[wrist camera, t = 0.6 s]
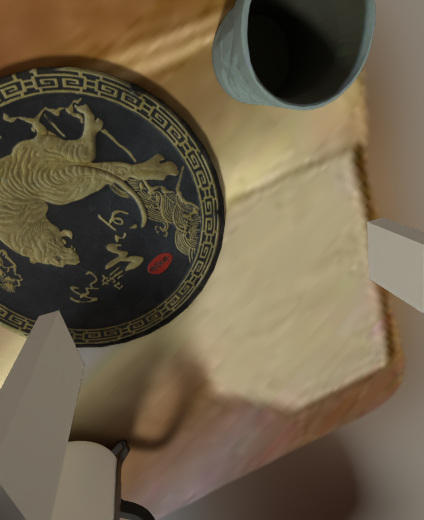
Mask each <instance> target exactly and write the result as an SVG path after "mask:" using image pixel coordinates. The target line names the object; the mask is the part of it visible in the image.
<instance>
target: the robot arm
mask: <svg viewBox="0 0 424 520" xmlns="http://www.w3.org/2000/svg"><path fill="white" fill-rule="evenodd" d="M367 227H368V266H369V279H371V280H372V281H374V282H375V283H377V284H379V285H380V286H382V287H383V288H385V289H386V290H388V291H389V292H391V293H393V294H394V295H396V296H397V297H399V298H400V299H402V300H403V301H405V302H407V303H408V304H410V305H411V306H413V307H414V308H416V309H417V310H419V311H421V312H422V313H424V232H422V231H420V230H417V229H414V228H411V227H409V226H406V225H402V224H400V223H397V222H395V221H392V220H389V219H386V218H380V219H376V220H373V221H369V222H367ZM84 366H85V365H84V363H83V361H82V359H81V356H80V354H79V352H78V350H77V348H76V346H75V344H74V341H73V339H72V337H71V335H70V333H69V331H68V329H67V326H66V324H65V322H64V320H63V318H62V316H61V314H60V311H55V312H52V313H48V314H45V315H41V316H39V317H38V319H37V321H36V323H35V324H34V326H33V328H32V330H31V332H30V334H29V336H28V338H27V340H26V342H25V344H24V345H23V347H22V349H21V351H20V353H19V355H18V357H17V359H16V361H15V363H14V365H13V367H12V368H11V370H10V372H9V374H8V376H7V378H6V380H5V382H4V384H3V386H2V388H1V389H0V520H51V516H52V512H53V507H54V503H55V498H56V494H57V489H58V485H59V480H60V476H61V471H62V466H63V462H64V457H65V453H66V448H67V444H68V439H69V435H70V430H71V425H72V421H73V416H74V412H75V407H76V403H77V398H78V394H79V389H80V385H81V380H82V375H83V371H84Z"/></svg>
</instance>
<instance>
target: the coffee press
mask: <svg viewBox="0 0 424 520" xmlns="http://www.w3.org/2000/svg"><path fill="white" fill-rule="evenodd" d="M122 448H124V449H123V450H122V452H121V453H120V455H119V457H118V460H117V458H116V457H115V456H116V455H117V454H118V453H119V452H120V450H121V449H122ZM129 451H130V447H129V445H128V443H127V441H126V440H121V441H120V442H118V444H117V445H116V446H115V447H114V448H113V449H112V450H109V449H107V448H106V447H104V446H102V445H100V444H97V443H94V442H89V441H72V442H68V444H67V448H66V453H65V457H64V462H63V466H62V471H61V476H60V480H59V485H58V489H57V494H56V498H55V503H54V507H53V512H52V516H51V520H120V518H125V519H130V520H155V519H154V517H153V516H152V514H151V513H150V512H149V511H148V510H147V509H146V508H144V507H143V506H141V505H138V504H136V503H133V502H129V501H124V500H122V499H121V467H122V463H123V461H124V459H125V458H126V456H127V455H128V453H129Z"/></svg>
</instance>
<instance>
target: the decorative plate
mask: <svg viewBox="0 0 424 520" xmlns="http://www.w3.org/2000/svg"><path fill="white" fill-rule="evenodd" d="M224 226H225V219H224V202H223V195H222V191H221V188H220V184H219V180H218V176H217V172H216V170H215V168H214V166H213V164H212V162H211V160H210V157H209V155H208V153H207V151H206V149H205V147H204V145H203V144H202V143H201V141H200V140H199V139H198V137H197V136H196V135H195V133H194V132H193V131H192V129H191V128H190V126H189V125H188V124H187V122H185V121H184V120H183V119H182V118H181V117H180V116H179V115H178V114H177V113H176V112H175V111H174V110H172V109H171V108H170V107H169V106H168V105H167V104H166V103H165V102H164V101H162V100H161V99H159V98H157V97H156V96H154V95H153V94H151V93H149V92H148V91H146V90H144V89H143V88H141V87H140V86H138V85H136V84H134V83H132V82H129V81H126V80H124V79H121V78H118V77H116V76H113V75H110V74H108V73H105V72H100V71H94V70H88V69H82V68H76V67H48V68H33V69H30V70H26V71H22V72H19V73H15V74H11V75H8V76H4V77H1V78H0V326H2V327H4V328H6V329H8V330H10V331H12V332H14V333H17V334H19V335H21V336H23V337H26V338H28V336H29V334H30V332H31V330H32V328H33V326H34V324H35V323H36V321H37V319H38V317H39V316H41V315H45V314H48V313H52V312H55V311H60V314H61V316H62V318H63V320H64V322H65V324H66V326H67V329H68V331H69V333H70V335H71V337H72V339H73V341H74V344H75V346H76V348H84V347H104V346H110V345H115V344H120V343H126V342H129V341H131V340H134V339H137V338H140V337H142V336H145V335H148V334H150V333H152V332H154V331H155V330H157V329H159V328H161V327H162V326H164V325H166V324H168V323H169V322H171V321H172V320H173V319H174V318H176V317H177V316H178V315H179V314H180V313H182V312H183V311H184V310H185V309H187V308H188V306H189V305H190V304H191V303H192V302H193V301H194V299H195V298H196V297H197V296H198V295H199V294H200V292H201V291H202V290H203V288H204V286H205V285H206V283H207V281H208V279H209V278H210V276H211V274H212V272H213V271H214V268H215V265H216V262H217V259H218V257H219V254H220V251H221V248H222V241H223V233H224Z"/></svg>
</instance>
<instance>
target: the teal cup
mask: <svg viewBox="0 0 424 520" xmlns="http://www.w3.org/2000/svg"><path fill="white" fill-rule="evenodd" d="M374 28H375V0H236V2H235V5H234V8H232V9H231V10H230V11H229V12H228V14H227V15H226V17H225V18H224V20H223V21H222V23H221V25H220V26H219V28H218V30H217V32H216V35H215V38H214V42H213V47H212V62H213V67H214V72H215V75H216V77H217V80H218V82H219V83H220V85H221V86H222V88H223V89H224V90H225V91H226V93H227V94H228V95H230V96H231V97H232V98H234V99H236V100H238V101H240V102H243V103H248V104H256V105H267V106H275V107H281V108H287V109H293V110H313V109H316V108H319V107H323V106H325V105H327V104H329V103H330V102H332V101H334V100H335V99H337V98H338V97H339V96H340V95H341V94H343V93H344V92H345V91H346V90H347V89H348V88H349V87H350V86H351V84H352V83H353V82H354V80H355V79H356V78H357V77H358V75H359V74H360V72H361V70H362V68H363V66H364V64H365V62H366V60H367V57H368V54H369V51H370V49H371V44H372V39H373V33H374Z"/></svg>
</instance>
